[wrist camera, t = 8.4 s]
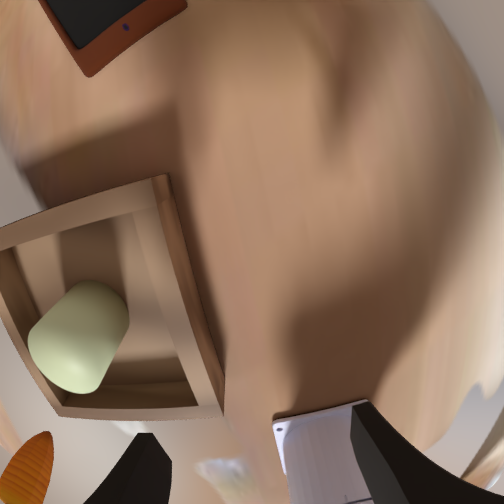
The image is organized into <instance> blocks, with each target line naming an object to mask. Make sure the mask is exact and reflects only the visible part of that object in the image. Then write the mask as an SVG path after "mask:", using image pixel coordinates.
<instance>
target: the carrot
mask: <svg viewBox="0 0 504 504" xmlns="http://www.w3.org/2000/svg"><path fill="white" fill-rule="evenodd" d="M53 460H54V447H53V438H52V435H51V433H50V432H49V431H43V432H42V433H39V434H37V435H35V436H34V437H32V438H31V439H29V440H28V441H27V442H26V443H25V444H24V445H23V446H22V447H21V448H20V449H19V450H18V451H17V452H16V454H15V455H14V456H13V457H12V459H11V460H10V462H9V464H8V466H7V467H6V469H5V470H4V472H3V474H2V476H1V478H0V499H1V500H2V501H3V502H4V503H5V504H43V501H44V497H45V495H46V492H47V488H48V485H49V482H50V476H51V472H52V466H53Z"/></svg>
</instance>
